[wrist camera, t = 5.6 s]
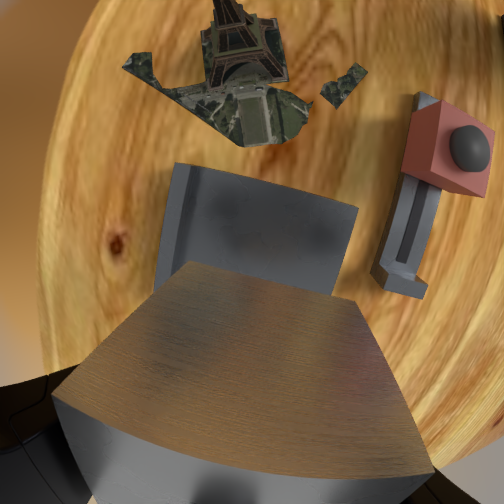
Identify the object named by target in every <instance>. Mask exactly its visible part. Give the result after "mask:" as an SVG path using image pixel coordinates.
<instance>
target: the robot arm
mask: <svg viewBox="0 0 504 504" xmlns="http://www.w3.org/2000/svg"><path fill="white" fill-rule="evenodd" d="M501 20H502V26H503V32H504V15H502V16H501ZM80 364H81V363H80ZM80 364H77V365H75V366H72V367H69V368H66V369H63V370H60V371H57V372H54V373H51V374H49V376H48V375H44V376H42V377H38V378H35V379H32V380H28V381H25V382H21V383H18V384H12V385H8V386H3V387H0V504H87V503H88V501H89V500H90V498H91V496H92V495H93V494H92V493H91V491H90V489H89V487H88V485H87V483H86V481H85V479H84V477H83V475H82V473H81V471H80V469H79V467H78V465H77V463H76V460H75V458H74V456H73V454H72V451H71V449H70V447H69V444H68V442H67V439H66V437H65V434H64V431H63V429H62V426H61V423H60V421H59V418H58V415H57V412H56V409H55V406H54V402H53V399H52V396H51V393H52V392H53V391H54V390H55V389H56V388H57V387H58V386H59V385H60V384H61V383H62V382H63V381H64V380H65V379H66V378H67V377H68V376H69V375H70V374H71V373H72V372H73V371H74V370H75V369H76V368H77V367H78V366H79V365H80ZM433 468H434V470H435V473H434V474H433V475H432V476H431V477H430V478H429V479H428V480H427V481H425V482H424V483H423V484H422V485H421V486H420V487H419V488H418V489H416V490H415V491H414V492H413V493H412V494H411V495H409V496H408V497H407V498H406V499H404V500H403V501H402V502H401V503H399V504H480V503H479V502H478V501H476V500H475V499H474V498H472V497H471V496H470V495H468V494H467V493H465V492H464V491H463V490H461V489H460V488H459V487H457V486H456V485H455V484H454V483H452V482H451V481H450V480H449V479H447V478H446V477H445V476H444V475H443V474H442V473H441V472H440V471H439V470H437V469H436V468H435V467H434V466H433Z"/></svg>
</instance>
